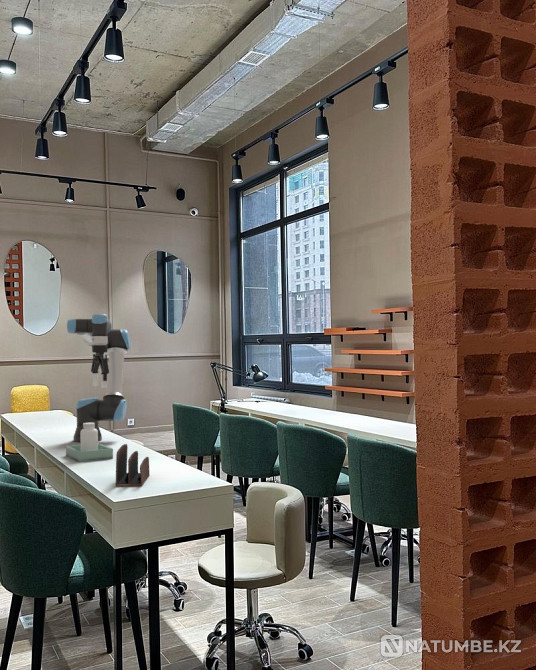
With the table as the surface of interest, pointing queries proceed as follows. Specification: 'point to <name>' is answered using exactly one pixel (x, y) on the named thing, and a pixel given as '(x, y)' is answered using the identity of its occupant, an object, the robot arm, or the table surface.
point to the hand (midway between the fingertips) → (99, 386)
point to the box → (89, 453)
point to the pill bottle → (89, 437)
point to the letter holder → (130, 469)
